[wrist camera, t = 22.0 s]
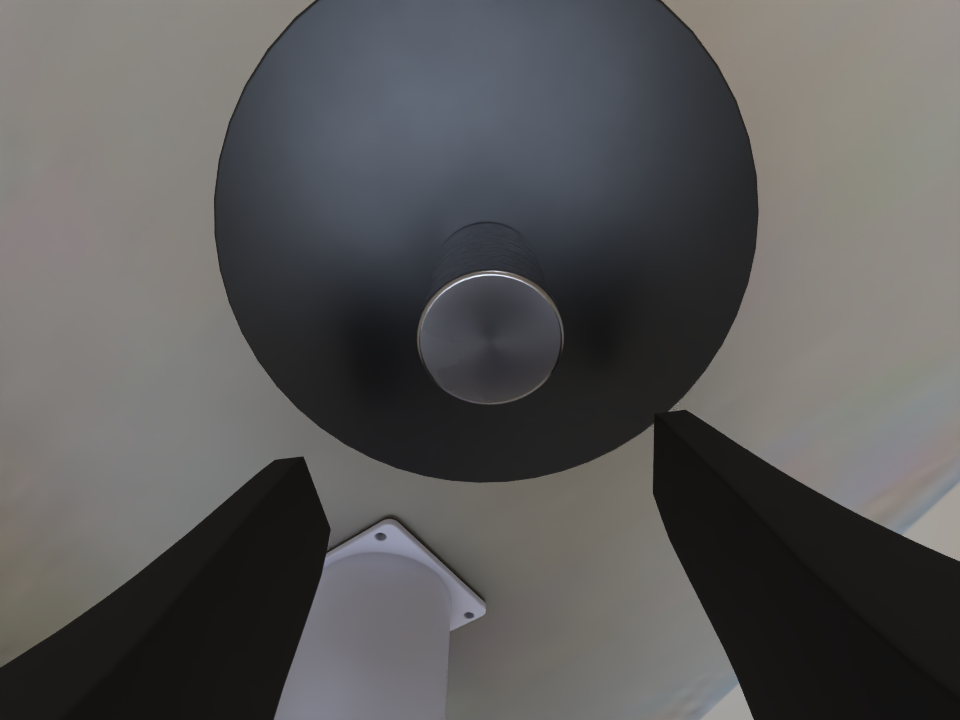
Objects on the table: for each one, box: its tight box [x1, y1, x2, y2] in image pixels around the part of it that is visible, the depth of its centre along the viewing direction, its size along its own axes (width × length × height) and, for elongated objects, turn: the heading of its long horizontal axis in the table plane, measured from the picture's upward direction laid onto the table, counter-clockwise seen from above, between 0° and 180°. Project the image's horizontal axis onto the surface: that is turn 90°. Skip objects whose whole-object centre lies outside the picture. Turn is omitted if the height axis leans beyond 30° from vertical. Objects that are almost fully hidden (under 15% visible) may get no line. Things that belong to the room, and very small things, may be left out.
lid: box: [214, 0, 759, 483], centre depth 10 cm, size 12×12×5 cm
